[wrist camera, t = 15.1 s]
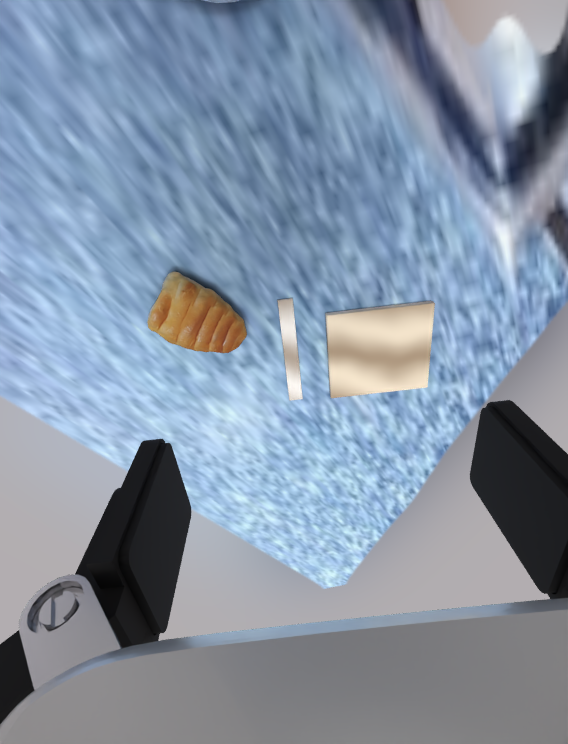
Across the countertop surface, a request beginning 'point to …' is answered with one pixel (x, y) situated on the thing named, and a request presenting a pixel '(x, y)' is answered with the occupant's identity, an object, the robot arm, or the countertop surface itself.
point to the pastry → (195, 317)
